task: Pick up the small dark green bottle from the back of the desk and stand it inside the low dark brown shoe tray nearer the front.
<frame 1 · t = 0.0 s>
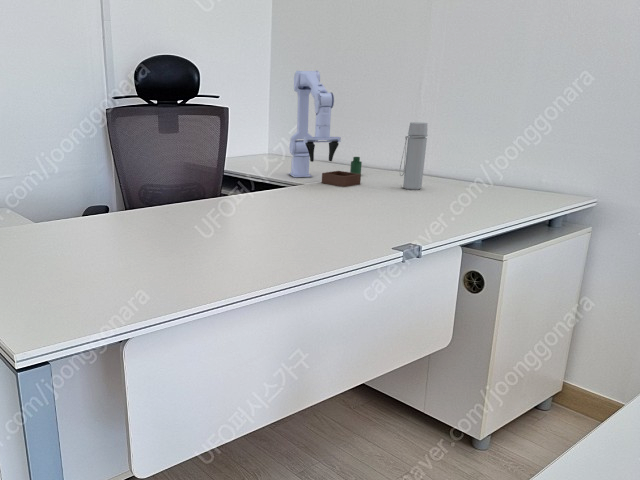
hand: (321, 161, 235), 10 cm above the table, tool pointing down, fingers open, 7 cm apart
shoe tray: (340, 183, 246), on the table
green bottle: (355, 175, 266), on the table
water bottle: (409, 188, 235), on the table
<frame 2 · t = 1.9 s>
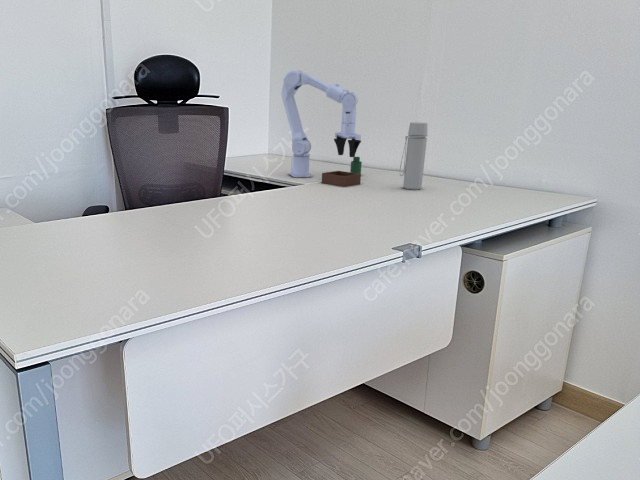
hand: (346, 156, 254), 10 cm above the table, tool pointing down, fingers open, 7 cm apart
nothing on the table moved.
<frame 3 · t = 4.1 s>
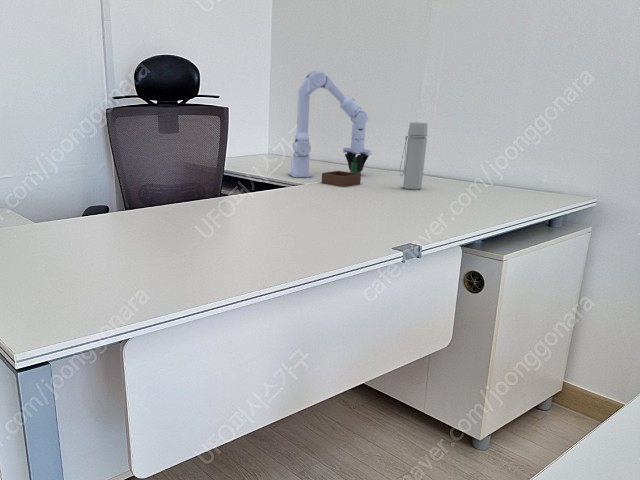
hand: (355, 170, 266), 2 cm above the table, tool pointing down, fingers closed on green bottle, 4 cm apart
green bottle: (355, 175, 267), on the table, touching gripper
everything else where it was.
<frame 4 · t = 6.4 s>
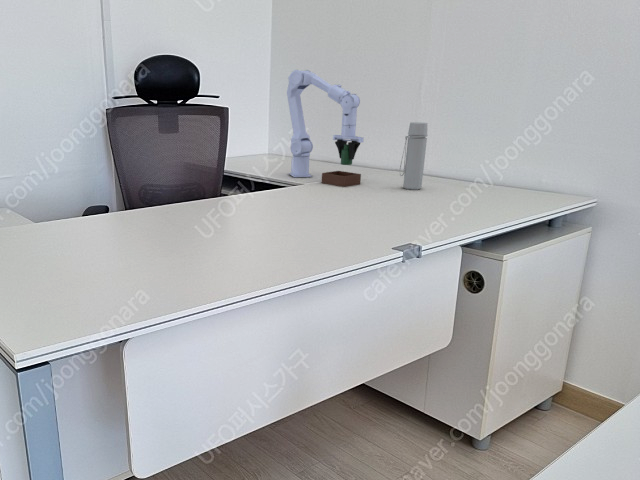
hand: (346, 158, 248), 9 cm above the table, tool pointing down, fingers closed on green bottle, 4 cm apart
green bottle: (346, 164, 249), point 7 cm above the table, touching gripper
everything else where it was.
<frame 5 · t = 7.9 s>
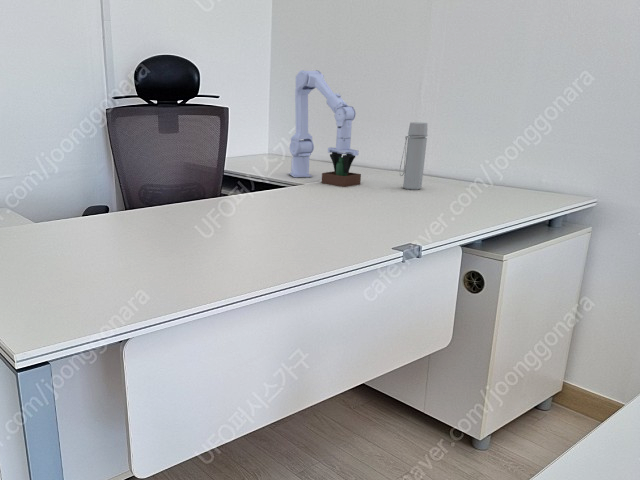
hand: (341, 171, 244), 5 cm above the table, tool pointing down, fingers closed on green bottle, 4 cm apart
green bottle: (341, 177, 245), point 3 cm above the table, touching gripper
everything else where it was.
when the fingers open (3 cm above the table, at t = 9.0 s): green bottle stays where it is, resting on shoe tray.
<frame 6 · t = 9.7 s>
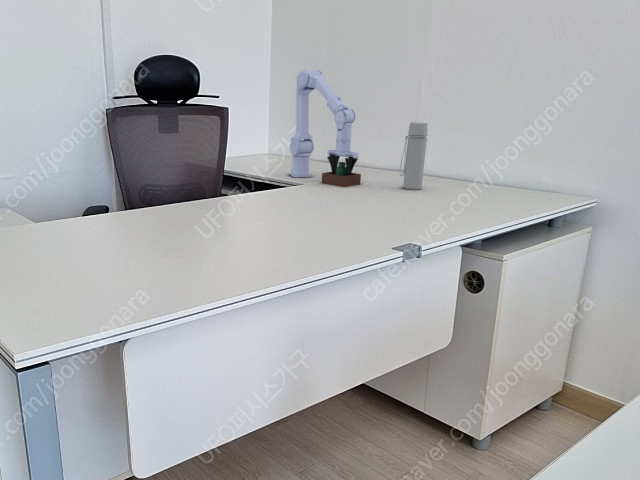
hand: (341, 174, 244), 4 cm above the table, tool pointing down, fingers open, 7 cm apart
green bottle: (340, 182, 246), point 1 cm above the table, touching shoe tray
everything else where it was.
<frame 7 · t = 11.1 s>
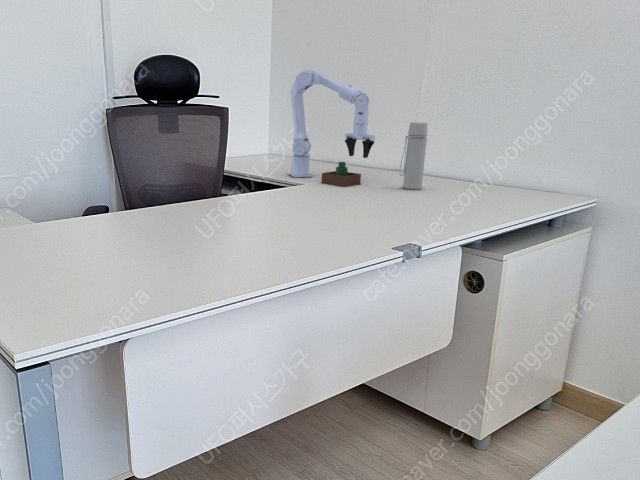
hand: (358, 156, 253), 9 cm above the table, tool pointing down, fingers open, 7 cm apart
nothing on the table moved.
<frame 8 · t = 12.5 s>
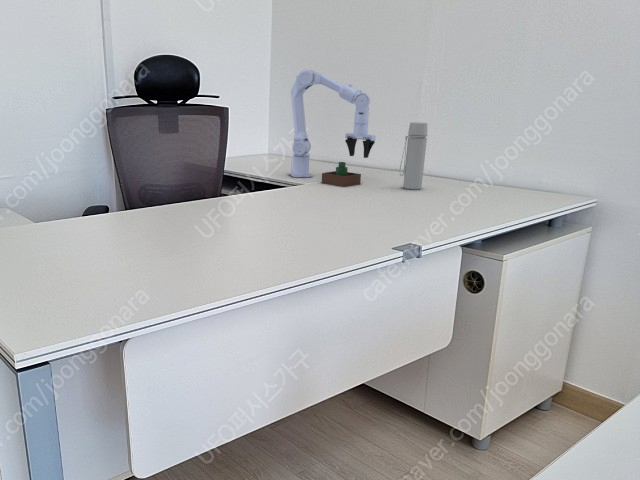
hand: (358, 156, 253), 9 cm above the table, tool pointing down, fingers open, 7 cm apart
nothing on the table moved.
at the end: green bottle inside the target area in the shoe tray (0.0 cm from its centre), point 0.6 cm above the shoe tray's base; green bottle tilted 0° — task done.
